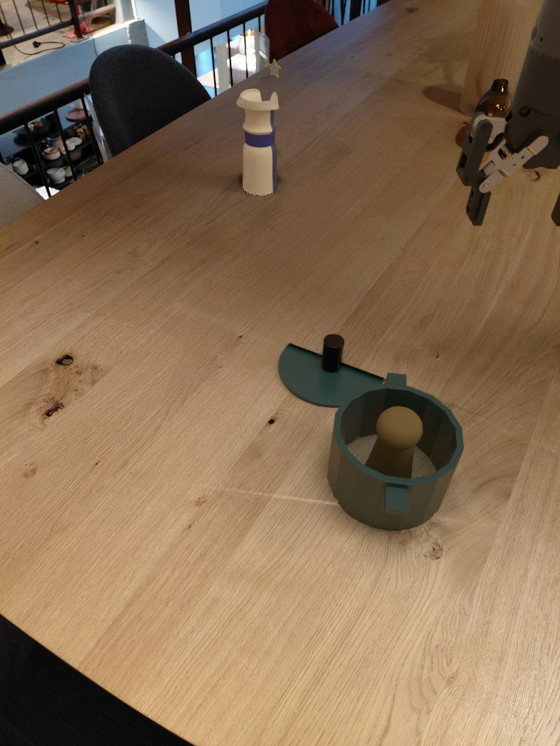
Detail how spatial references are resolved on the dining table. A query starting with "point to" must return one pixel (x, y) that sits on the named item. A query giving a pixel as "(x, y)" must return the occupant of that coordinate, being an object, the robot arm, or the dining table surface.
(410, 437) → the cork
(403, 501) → the pot
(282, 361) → the lid
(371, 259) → the dining table surface
